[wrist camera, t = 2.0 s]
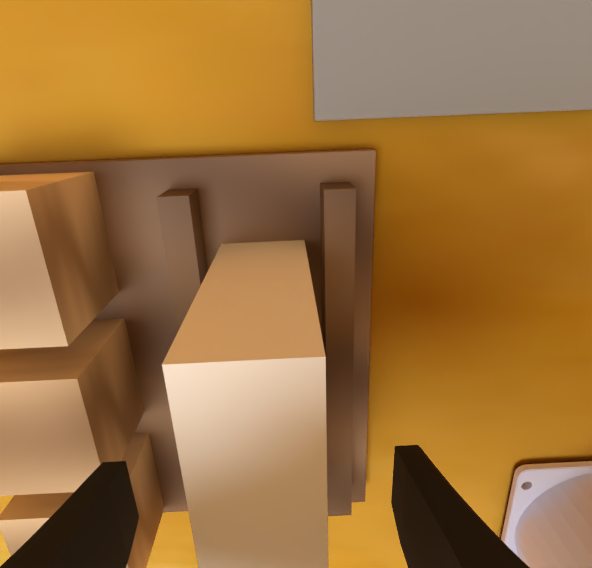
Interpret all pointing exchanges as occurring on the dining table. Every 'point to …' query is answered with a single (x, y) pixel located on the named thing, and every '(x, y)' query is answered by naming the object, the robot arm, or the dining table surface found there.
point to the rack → (241, 229)
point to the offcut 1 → (51, 258)
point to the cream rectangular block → (253, 410)
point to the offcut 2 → (40, 507)
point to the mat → (449, 57)
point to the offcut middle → (66, 410)
